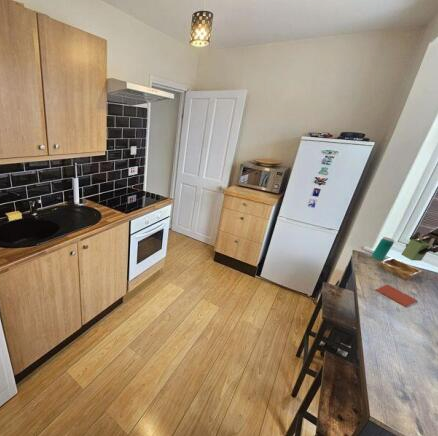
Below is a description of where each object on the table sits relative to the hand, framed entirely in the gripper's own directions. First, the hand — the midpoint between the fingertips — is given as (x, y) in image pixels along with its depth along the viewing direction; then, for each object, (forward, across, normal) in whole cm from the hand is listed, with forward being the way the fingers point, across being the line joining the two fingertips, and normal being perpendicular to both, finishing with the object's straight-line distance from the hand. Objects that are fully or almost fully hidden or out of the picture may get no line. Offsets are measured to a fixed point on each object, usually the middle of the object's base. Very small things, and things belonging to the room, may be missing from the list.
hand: (412, 250), depth 126 cm
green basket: (+2, 0, +5) cm, 5 cm away
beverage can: (+8, -18, +17) cm, 26 cm away
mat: (+25, +16, 0) cm, 30 cm away
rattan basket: (+7, -5, +18) cm, 20 cm away
